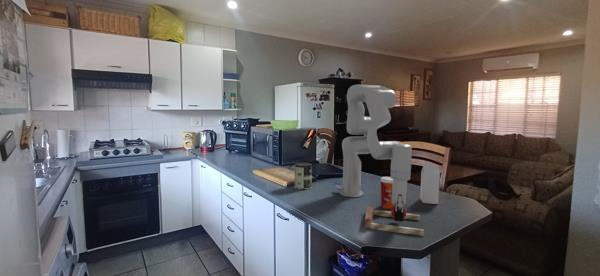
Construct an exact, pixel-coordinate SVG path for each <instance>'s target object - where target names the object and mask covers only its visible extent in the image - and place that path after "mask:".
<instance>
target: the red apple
mask: <svg viewBox="0 0 600 276" xmlns="http://www.w3.org/2000/svg"><path fill="white" fill-rule="evenodd" d="M394 205H395V204H394ZM397 206H398V205H397ZM390 210H391V211H390V212H391V214H392V216H393V217H392V218H393V219H394V216H395V210H396V205H395V206H393V208H392V209H390ZM406 213H407V210H406V208H405V206H403V220H404V218H405V216H406Z"/></svg>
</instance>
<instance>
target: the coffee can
mask: <svg viewBox="0 0 600 276" xmlns="http://www.w3.org/2000/svg"><path fill="white" fill-rule="evenodd" d="M293 165H294V189H296V188H298V189H297V190H300V189H307V190H310V189H309V188H311V187H313V186H312V184H313V183H312V181H313V180H312V178H313V177H312V173H313V172H312V171H313V169H312V166H313V163H311V162H296V163H294V164H293ZM311 189H312V188H311Z"/></svg>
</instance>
